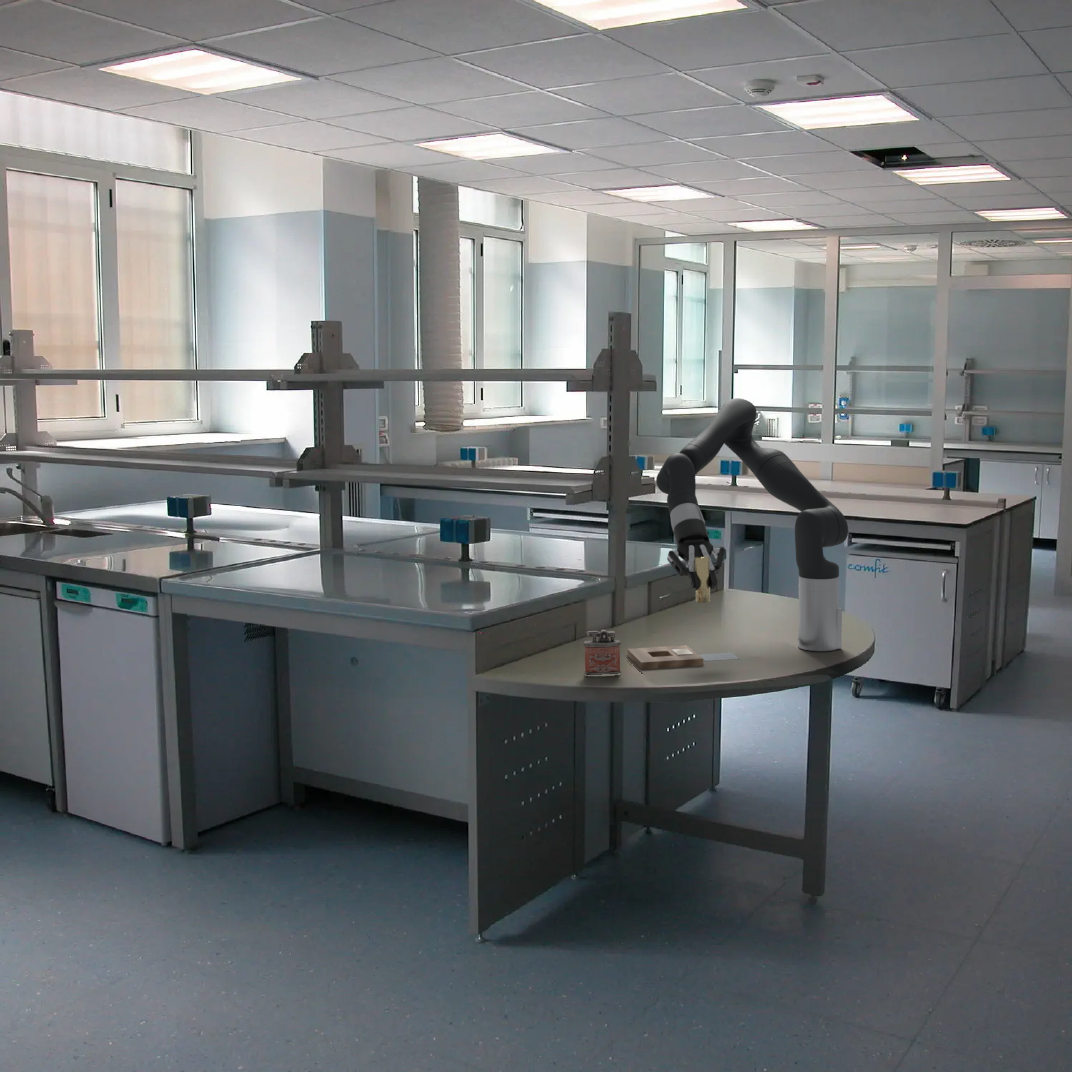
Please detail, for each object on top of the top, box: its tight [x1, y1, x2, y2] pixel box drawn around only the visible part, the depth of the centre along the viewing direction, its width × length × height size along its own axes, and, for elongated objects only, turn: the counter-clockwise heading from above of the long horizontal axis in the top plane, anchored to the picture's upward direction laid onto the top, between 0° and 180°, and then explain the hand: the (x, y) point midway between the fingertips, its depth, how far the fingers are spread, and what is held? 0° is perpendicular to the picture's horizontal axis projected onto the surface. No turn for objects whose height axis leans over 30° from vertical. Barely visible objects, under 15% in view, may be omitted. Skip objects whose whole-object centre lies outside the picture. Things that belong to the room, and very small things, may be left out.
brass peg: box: [694, 556, 711, 604], centre depth 252 cm, size 3×3×10 cm
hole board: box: [626, 644, 704, 674], centre depth 252 cm, size 14×13×3 cm
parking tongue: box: [698, 652, 740, 662], centre depth 254 cm, size 8×6×2 cm
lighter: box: [583, 629, 622, 675], centre depth 246 cm, size 8×3×10 cm, turn 92°
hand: (704, 587), depth 250 cm, fingers closed on brass peg, 3 cm apart
